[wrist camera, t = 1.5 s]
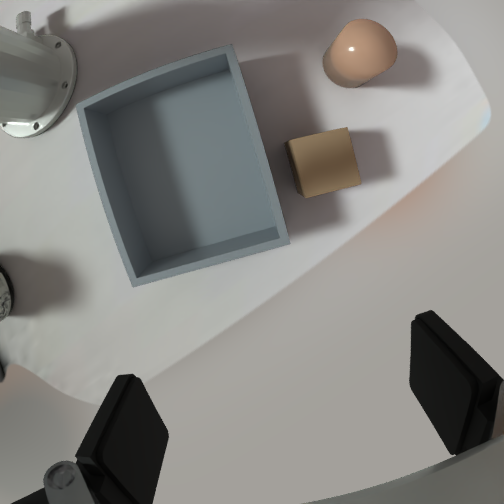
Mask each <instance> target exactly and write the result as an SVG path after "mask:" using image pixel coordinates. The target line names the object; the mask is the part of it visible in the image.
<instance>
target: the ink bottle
mask: <svg viewBox="0 0 504 504" xmlns="http://www.w3.org/2000/svg"><path fill="white" fill-rule="evenodd" d="M13 303H14V293H13V288H12V284H11V281H10V279H9V277H8V275H7V273H6V272H5V271H4V269H3V268H2V267H1V266H0V322H1V321H2V320H4V319H5V318H6V317H7V316H8V315H9V314H10V312H11V311H12V308H13Z"/></svg>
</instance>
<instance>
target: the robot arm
mask: <svg viewBox="0 0 504 504" xmlns="http://www.w3.org/2000/svg"><path fill="white" fill-rule="evenodd" d="M16 29H17V33H16V32H14V31H11V30H9V29H7V28H4V27H2V26H0V127H1V128H2V129H3V131H4V132H6V133H7V134H8V135H10V136H13V137H17V138H30V137H33V136H36V135H38V134H40V133H42V132H44V131H45V130H46V129H48V128H49V127H50V126H52V124H53V123H54V122H55V121H56V120H57V119H58V118H59V117H60V115H61V114H62V112H63V111H64V110H65V108H66V106H67V104H68V102H69V100H70V98H71V95H72V92H73V90H74V86H75V82H76V74H77V63H76V57H75V54H74V51H73V49H72V48H71V46H70V45H69V44H68V43H67V42H66V41H65V40H63V39H61V38H60V37H57V36H54V35H41V36H35V35H34V31H33V30H32V29H31V13H30V12H29V11H24V12H21V13H20V14H18V15H17V17H16ZM409 381H410V382H409V383H410V387H411V390H412V391H413V393H414V395H415V396H416V398H417V400H418V401H419V403H420V404H421V406H422V408H423V409H424V411H425V413H426V414H427V416H428V417H429V419H430V421H431V423H432V424H433V425H434V428H435V429H436V431H437V433H438V434H439V436H440V438H441V439H442V441H443V442H444V445H445V446H446V448H447V450H448V451H449V453H450V454H451V455H454V454H455V455H456V456H454V457H452V458H450V459H447V460H445V461H443V462H440V463H438V464H436V465H433V466H431V467H428V468H425V469H423V470H420V471H418V472H415V473H412V474H410V475H407V476H404V477H401V478H399V479H396V480H393V481H390V482H387V483H384V484H380V485H377V486H374V487H370V488H367V489H364V490H360V491H357V492H353V493H349V494H345V495H341V496H336V497H332V498H328V499H323V500H318V501H314V502H309V503H303V504H504V380H503V379H502V378H501V377H500V376H499V374H498V373H497V372H496V371H495V370H494V369H493V368H492V367H491V366H490V365H489V364H488V363H487V362H486V361H485V360H484V359H483V358H482V357H481V356H480V355H479V354H478V353H477V352H476V351H475V350H474V349H473V348H472V347H471V346H470V345H469V344H468V343H467V342H466V341H464V340H463V339H462V338H461V337H460V336H459V335H458V334H457V333H456V332H455V331H454V330H453V329H452V328H451V327H450V326H449V325H447V323H445V322H444V321H443V320H442V319H441V318H440V317H439V316H438V315H437V314H436V313H435V312H434V311H432V310H430V311H427V312H424V313H421V314H418V315H416V317H415V320H413V321H412V322H411V357H410V378H409ZM168 438H169V434H168V430H167V428H166V426H165V424H164V423H163V421H162V419H161V417H160V415H159V414H158V412H157V410H156V408H155V406H154V404H153V402H152V400H151V399H150V396H149V395H148V393H147V391H146V389H145V387H144V385H143V383H142V381H141V379H140V378H138V377H136V376H135V375H134V374H126V375H118V376H117V377H116V379H115V381H114V382H113V384H112V386H111V388H110V390H109V392H108V393H107V395H106V397H105V399H104V401H103V403H102V405H101V406H100V408H99V410H98V412H97V414H96V416H95V418H94V420H93V422H92V424H91V426H90V427H89V430H88V431H87V433H86V435H85V437H84V439H83V441H82V443H81V445H80V447H79V449H78V451H77V453H76V455H75V457H76V458H77V462H76V464H75V463H73V462H71V461H61V462H58V463H56V464H54V465H53V466H51V467H50V468H49V469H48V470H47V471H46V473H45V475H44V479H43V483H44V488H42V489H40V490H38V491H36V492H34V493H32V494H30V495H28V496H26V497H24V498H22V499H20V500H18V501H15V502H13V503H12V504H152V503H153V499H154V495H155V491H156V487H157V483H158V478H159V475H160V470H161V466H162V462H163V458H164V454H165V450H166V447H167V442H168Z"/></svg>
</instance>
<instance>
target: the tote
mask: <svg viewBox="0 0 504 504" xmlns="http://www.w3.org/2000/svg"><path fill="white" fill-rule="evenodd" d="M76 109H77V113H78V117H79V122H80V126H81V130H82V134H83V138H84V142H85V146H86V150H87V153H88V157H89V161H90V164H91V168H92V171H93V175H94V178H95V182H96V185H97V188H98V191H99V195H100V198H101V201H102V204H103V207H104V210H105V213H106V216H107V219H108V222H109V225H110V228H111V231H112V234H113V237H114V239H115V242H116V245H117V248H118V250H119V253H120V256H121V258H122V261H123V264H124V266H125V269H126V271H127V274H128V277H129V279H130V282H131V284H132V287H136V286H140V285H143V284H147V283H151V282H154V281H158V280H162V279H165V278H169V277H173V276H176V275H180V274H183V273H187V272H191V271H194V270H198V269H202V268H205V267H209V266H212V265H216V264H220V263H223V262H227V261H231V260H234V259H238V258H241V257H245V256H249V255H252V254H256V253H260V252H263V251H267V250H270V249H274V248H278V247H281V246H285V245H288V244H290V240H289V236H288V232H287V229H286V225H285V221H284V217H283V214H282V210H281V206H280V203H279V199H278V195H277V192H276V188H275V185H274V181H273V177H272V174H271V170H270V167H269V163H268V160H267V156H266V153H265V149H264V146H263V143H262V139H261V136H260V132H259V129H258V126H257V122H256V119H255V116H254V112H253V109H252V106H251V102H250V99H249V96H248V93H247V89H246V86H245V83H244V80H243V77H242V73H241V70H240V67H239V64H238V61H237V58H236V55H235V52H234V49H233V45H232V44H230V45H226V46H223V47H219V48H216V49H212V50H209V51H206V52H202V53H199V54H196V55H193V56H190V57H187V58H184V59H181V60H178V61H175V62H172V63H169V64H167V65H164V66H161V67H159V68H156V69H153V70H151V71H148V72H146V73H143V74H141V75H138V76H136V77H133V78H131V79H129V80H126V81H124V82H122V83H119V84H117V85H115V86H113V87H111V88H108V89H106V90H104V91H102V92H100V93H98V94H96V95H94V96H92V97H90V98H88V99H86V100H84V101H82V102H80V103H78V104H76Z"/></svg>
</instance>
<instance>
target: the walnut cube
mask: <svg viewBox="0 0 504 504" xmlns="http://www.w3.org/2000/svg"><path fill="white" fill-rule="evenodd" d="M284 144H285V148H286V151H287V155H288V158H289V162H290V166H291V169H292V173H293V177H294V180H295V184H296V188H297V192H298V193H299V194H301V195H302V196H304V197H305V198H309V197H313V196H317V195H321V194H324V193H328V192H332V191H336V190H340V189H344V188H348V187H352V186H356V185H360V184H361V179H360V175H359V171H358V167H357V162H356V158H355V154H354V150H353V146H352V143H351V139H350V135H349V131H348V128H347V127H345V128H340V129H336V130H331V131H327V132H322V133H318V134H313V135H309V136H305V137H301V138H296V139H292V140H289V141H287V142H286V143H284Z"/></svg>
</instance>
